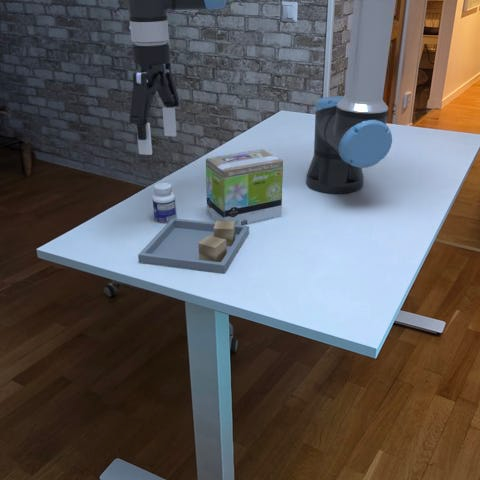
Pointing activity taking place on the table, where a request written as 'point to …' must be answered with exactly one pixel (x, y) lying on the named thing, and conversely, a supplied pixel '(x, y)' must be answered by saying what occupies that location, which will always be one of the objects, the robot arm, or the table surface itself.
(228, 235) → the oak cube
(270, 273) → the table surface
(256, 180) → the tea box
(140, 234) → the table surface
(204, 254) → the oak cube
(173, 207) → the pill bottle
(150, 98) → the robot arm
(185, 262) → the tray
